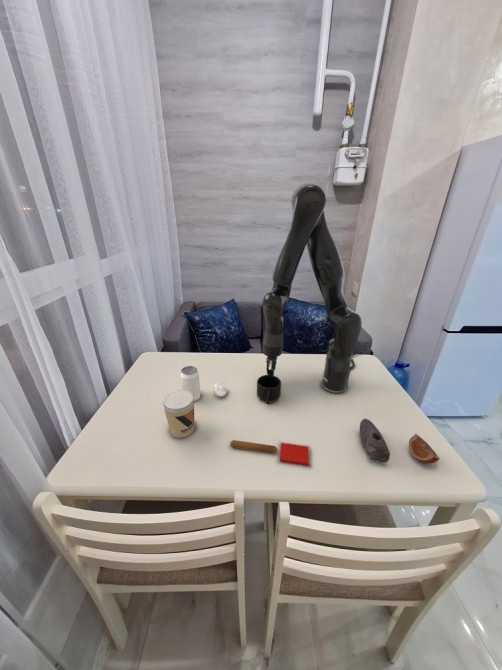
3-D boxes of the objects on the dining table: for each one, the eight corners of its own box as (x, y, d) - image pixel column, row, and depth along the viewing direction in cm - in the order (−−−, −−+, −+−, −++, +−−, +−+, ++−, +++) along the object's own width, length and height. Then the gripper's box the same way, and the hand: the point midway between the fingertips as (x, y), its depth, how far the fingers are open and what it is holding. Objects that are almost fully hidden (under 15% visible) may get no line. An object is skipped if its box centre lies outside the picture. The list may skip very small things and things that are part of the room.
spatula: (228, 453, 77) (228, 448, 76) (232, 437, 82) (232, 433, 81) (308, 466, 73) (309, 461, 72) (307, 448, 79) (308, 443, 78)
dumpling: (213, 390, 104) (214, 381, 103) (226, 392, 105) (227, 383, 104) (211, 398, 97) (213, 389, 96) (225, 400, 98) (227, 391, 97)
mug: (257, 388, 105) (257, 373, 102) (279, 390, 104) (281, 375, 101) (255, 409, 94) (255, 393, 91) (280, 411, 93) (281, 394, 90)
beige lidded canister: (182, 444, 79) (178, 413, 74) (161, 431, 84) (155, 402, 79) (203, 425, 87) (200, 396, 81) (182, 414, 91) (178, 386, 86)
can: (196, 403, 96) (194, 376, 91) (180, 400, 98) (176, 373, 92) (203, 392, 102) (201, 366, 97) (187, 390, 103) (184, 364, 98)
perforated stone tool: (353, 427, 87) (357, 410, 84) (369, 428, 86) (374, 411, 83) (368, 467, 73) (374, 449, 70) (388, 468, 73) (394, 450, 70)
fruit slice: (401, 445, 80) (406, 433, 78) (423, 444, 80) (428, 432, 78) (418, 469, 73) (423, 457, 70) (442, 469, 73) (448, 456, 71)
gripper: (281, 351, 92) (278, 391, 100) (284, 335, 104) (281, 372, 111) (260, 349, 93) (258, 388, 101) (265, 333, 105) (263, 370, 112)
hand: (270, 379), depth 106 cm, fingers closed
